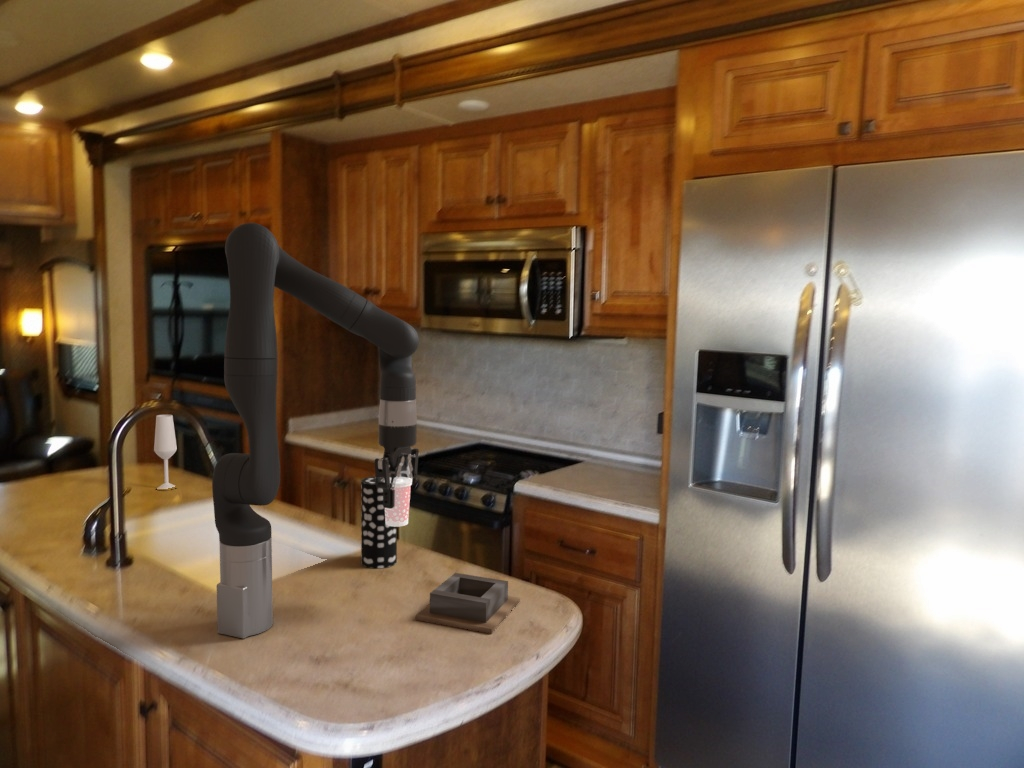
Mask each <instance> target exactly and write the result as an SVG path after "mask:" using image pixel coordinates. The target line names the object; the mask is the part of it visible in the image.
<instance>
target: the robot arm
mask: <svg viewBox="0 0 1024 768" xmlns="http://www.w3.org/2000/svg"><path fill="white" fill-rule="evenodd" d="M224 244H225V245H224V253H225V257H226V264H227V271H228V280H229V281H228V282H229V283H228V284H229V310H228V316H227V324H226V329H225V330H226V332H225V340H224V358H223V359H224V360H223V362H224V364H223V370H224V371H223V380H224V385H225V389H226V392H227V394H228V395H229V399H231V400H230V401H232V404H233V406H234V408H235V409H236V411H237V412H238V414H239V416H240V418H241V419H242V421H243V423H244V426H245V430H246V432H247V437H248V447H249V448H248V449H249V453H239V452H238V453H237V452H231V453H226V454H224V455H222V456H221V457H220V458H219V459H218V460H217V462H216V464H215V466H214V469H213V474H212V478H211V479H212V480H211V481H212V482H211V483H212V485H211V488H212V490H211V491H212V500H213V514H214V524H215V528H216V530H217V533H218V538H219V539H218V540H219V572H220V573H219V574H220V575H219V576H220V577H219V579H220V582H218V583H217V584H216V615H217V616H216V617H217V618H216V619H217V621H216V623H217V634H221V635H225V636H230V637H235V638H238V639H239V638H240V639H246V638H248V637H251V636H254V635H258V634H261V633H264V632H265V631H267V630H269V629H271V627H272V626H273V623H274V617H273V615H274V614H273V613H274V610H273V609H274V608H273V607H274V605H273V602H274V601H273V557H272V556H273V555H272V554H273V553H272V552H273V545H272V544H273V543H272V524H271V522H270V521H269V520H268V519H267V518H265V517H264V516H262V515H261V514H259V513H257V511H255V510H254V509H253V508H252V506H260V507H264V506H268V505H270V504H272V502H273V501H274V500H275V499H276V497H277V495H278V493H279V489H280V484H281V483H280V482H281V463H280V448H279V438H278V437H279V436H278V425H277V424H278V422H277V418H278V417H277V393H278V392H277V389H278V388H277V387H278V357H279V356H278V342H277V341H278V339H277V329H276V327H277V326H276V319H275V310H274V292H275V288H277V289H279V290H281V291H283V292H285V293H287V294H288V295H290V296H292V297H294V298H295V299H297V300H299V301H301V302H302V303H304V304H305V305H307V306H309V307H310V308H311V309H312V310H315V312H317V313H318V314H321V315H322V316H324V317H325V318H326V319H329V320H330V321H331V322H333V323H334V324H336V325H339V326H340V327H342V328H343V329H345V330H347V331H348V332H350V333H352V334H354V335H357V336H359V337H361V338H364V339H365V340H367V341H368V342H370V343H372V344H373V345H374V346H376V347H378V359H379V366H380V382H379V383H380V384H379V385H380V387H379V388H380V389H379V390H380V391H379V392H380V393H379V408H378V445H380V446H381V447H383V449H384V450H383V451H384V452H383V455H382V457H381V458H375V459H374V472H375V473H374V474H375V476H376V487H377V488H381V489H383V507H384V508H393V507H394V506H395V490H394V488H395V484H396V480H397V479H399V477H408V478H411V479H412V482H414V481H413V480H414V478H417V475H418V467H419V466H418V465H419V448H416V447H414V446H416V444H417V433H418V432H417V428H418V427H417V425H418V423H417V421H418V419H417V417H418V415H417V414H418V412H417V411H418V410H417V402H416V400H417V399H416V398H417V397H416V396H417V395H416V394H417V393H416V391H417V389H416V388H417V385H416V382H417V381H416V375H415V373H414V370H413V354H415V352H416V351H417V350H418V348H419V345H420V337H419V334H418V332H417V330H416V329H415V328H414V326H412V325H411V324H409V323H408V322H406V321H405V320H403V319H401V318H399V317H398V316H395V315H393V314H391V313H390V312H387V311H386V310H383V309H381V308H380V307H378V306H376V304H374V303H373V302H371V301H370V300H369V299H366V298H365V297H364V296H362V295H361V294H359V293H357V292H355V291H354V290H352V289H350V288H349V287H347V286H346V285H343V284H341V283H340V282H337V281H335V280H333V279H331V278H330V277H327V276H325V275H322V274H320V273H319V272H316V271H314V270H313V269H311V268H309V267H307V266H306V265H304V264H303V263H301V262H299V261H298V260H297V259H295V258H294V257H292V256H291V255H289V254H288V253H287V252H286V251H285V250H283V248H281V247H280V245H279V243H278V241H277V239H276V236H275V235H274V234H273V232H271V230H270V229H268V228H267V227H266V226H264V225H262V224H259V223H256V222H247V223H242V224H240V225H237V226H236V227H235V228H234V229H232V231H230V232H229V234H228V236H227V237H226V240H225V243H224ZM375 476H374V477H375ZM381 477H383V479H382V482H381ZM390 478H392V479H391V483H390ZM411 495H412V491H411V490H410V500H411Z"/></svg>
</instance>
